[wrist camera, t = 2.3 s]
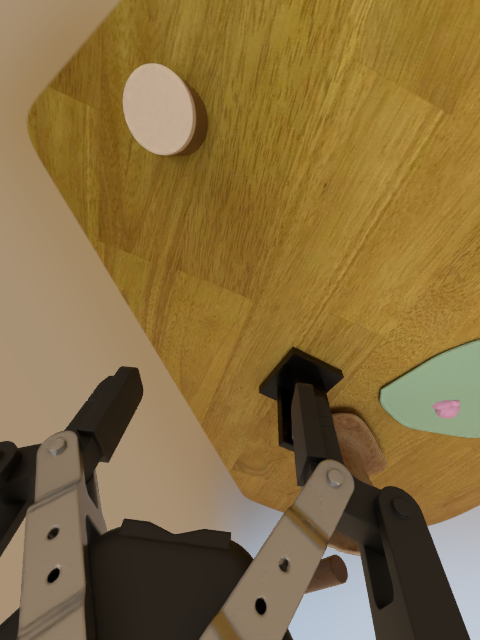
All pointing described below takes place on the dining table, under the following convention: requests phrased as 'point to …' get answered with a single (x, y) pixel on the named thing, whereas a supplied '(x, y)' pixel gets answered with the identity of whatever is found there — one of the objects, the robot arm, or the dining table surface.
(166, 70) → the brown lidded jar
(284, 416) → the black angular piece
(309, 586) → the metal lever handle
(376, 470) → the stone cup
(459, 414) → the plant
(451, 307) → the dining table surface
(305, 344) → the dining table surface
